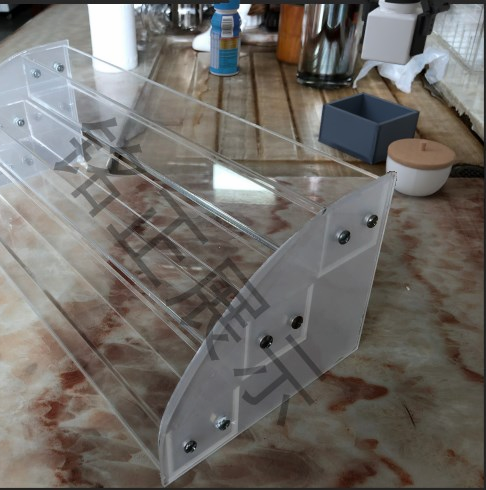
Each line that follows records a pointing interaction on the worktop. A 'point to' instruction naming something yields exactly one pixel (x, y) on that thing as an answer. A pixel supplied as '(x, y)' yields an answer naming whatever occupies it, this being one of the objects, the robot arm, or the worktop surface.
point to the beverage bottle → (225, 39)
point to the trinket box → (419, 165)
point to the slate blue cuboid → (366, 126)
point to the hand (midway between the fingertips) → (390, 47)
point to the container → (391, 31)
